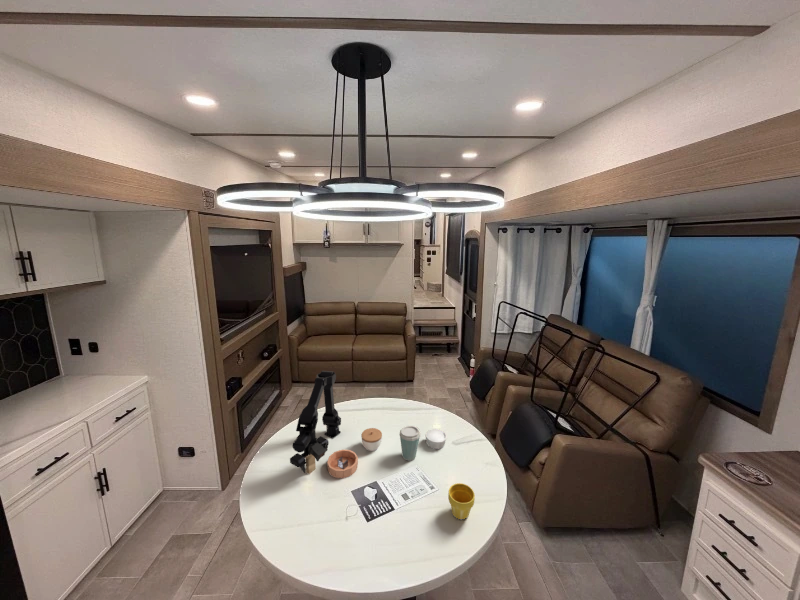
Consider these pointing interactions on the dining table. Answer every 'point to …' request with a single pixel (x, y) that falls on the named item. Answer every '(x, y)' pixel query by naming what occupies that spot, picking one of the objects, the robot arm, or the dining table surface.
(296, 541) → the dining table surface
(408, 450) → the disposable coffee cup
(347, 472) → the faceted terracotta bowl
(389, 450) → the dining table surface
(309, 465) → the wooden plank piece
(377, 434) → the lidded jar
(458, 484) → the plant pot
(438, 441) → the ramekin
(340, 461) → the clip
